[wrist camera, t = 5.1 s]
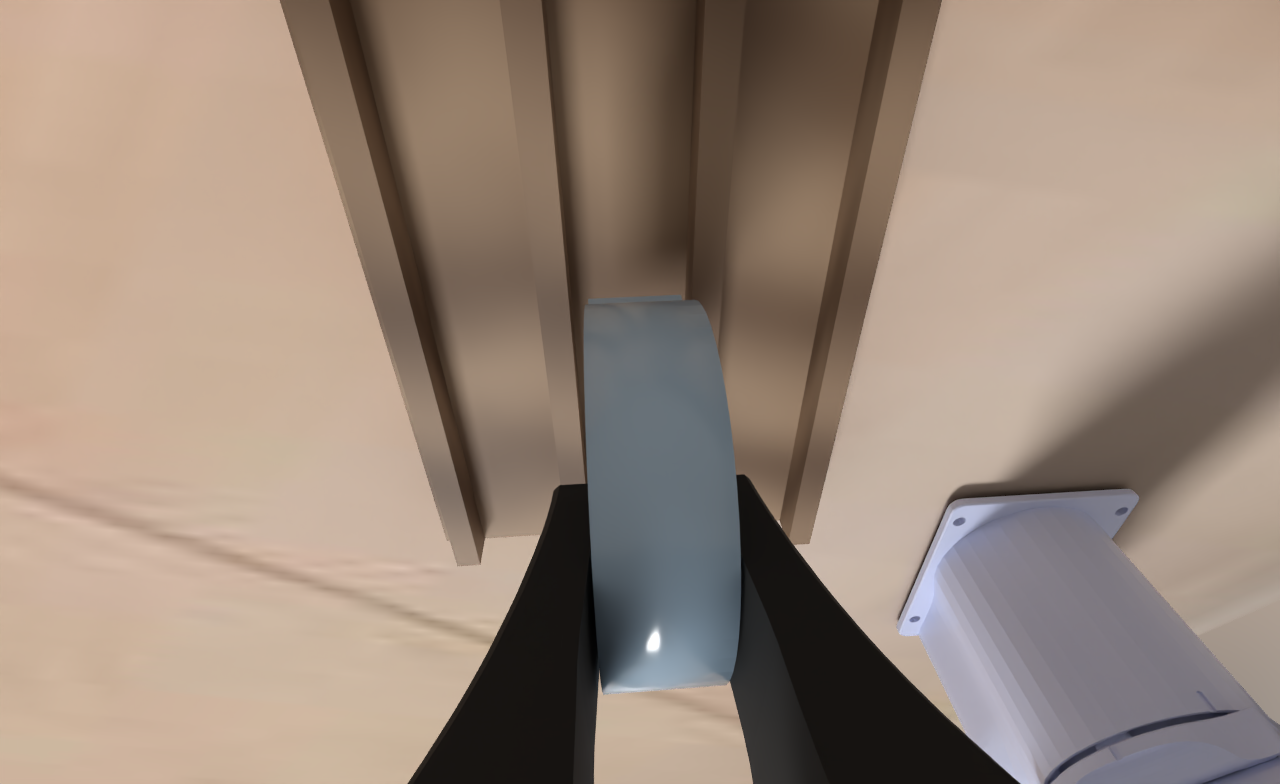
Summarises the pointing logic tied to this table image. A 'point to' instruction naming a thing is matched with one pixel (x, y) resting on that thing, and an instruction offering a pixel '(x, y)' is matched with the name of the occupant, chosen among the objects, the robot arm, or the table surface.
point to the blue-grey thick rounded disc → (660, 496)
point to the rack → (612, 214)
